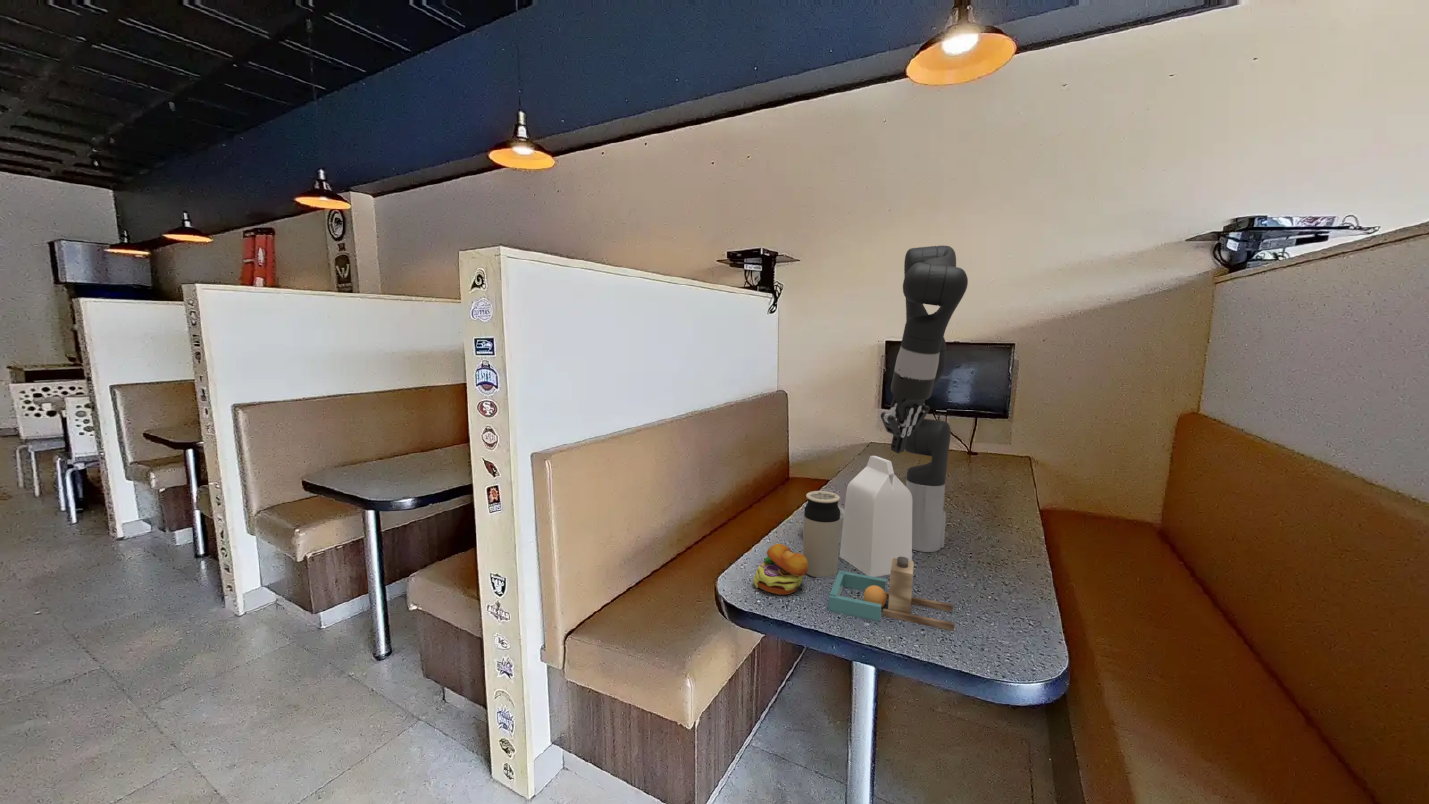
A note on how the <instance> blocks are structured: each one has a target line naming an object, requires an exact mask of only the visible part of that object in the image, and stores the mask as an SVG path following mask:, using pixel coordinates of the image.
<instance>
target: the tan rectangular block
mask: <svg viewBox="0 0 1429 804" xmlns="http://www.w3.org/2000/svg"><path fill="white" fill-rule="evenodd" d="M914 565H915V562H914V560H912V561H909V560H908V558H906V557H898V558H893V559H892V565H891V572H890V574H889V575H890V576H889V588H888V589H889V591H888V592H889V599H888V604H887V605H888V606H887V607H888V608H887V609H888V610H893V611H898V612H903V613H908V614H911V609H912V604H911V597H913V592H912V591H913V581H914V579H913V578H914V567H915V566H914Z"/></svg>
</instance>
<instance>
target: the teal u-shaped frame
mask: <svg viewBox="0 0 1429 804" xmlns="http://www.w3.org/2000/svg"><path fill="white" fill-rule="evenodd" d="M872 585H876V586H879V587H881V588H882V589H883V590H884V591H885V592H886V587H887V586H886V585H887V578H883V577H878V576H877V577H872V576H867V575H865V574H859V573H855V572H849V571H845V570H838V571H837V576H836V578H835V580H834V583H833V586H832V588H831V590H830V593H829V596H828V608H827V609H828V611H829V612H833V613H838V614H843V615H848V616H852V617H856V618H862V619H866V620H871V621H875V622H881V619H882V607H881V606H882V604H877V603H872V602H867V601H865V600H861V599H857V598H852V597H847V596H842V591H843V588H848V589H849V588H850V589H855V590H860V591H864V592H865V590H866V589H867V588H868V587H869V586H872Z"/></svg>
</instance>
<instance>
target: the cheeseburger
mask: <svg viewBox="0 0 1429 804" xmlns="http://www.w3.org/2000/svg"><path fill="white" fill-rule="evenodd" d="M766 555H767V556H766V557H765V558H764V560H763V561H760V562H759V564H758V567H757V568H756V571H755V575H754V577H753V584H754V586H755V588H756V589H758V588H760V589H761V590H763V591H766V592H767V593H772V594H776V595H780V596H781V595H790V594H792V593H794V592H796V591H797V589H799V588H798V587H800V586H801V584H802V582H803V577H805V575H806V574H807V571H808V561H807V559H806V558H805V556H804V555H803V553H801V552H794V551H792V550H791V549H790V548H789V547H788V546H787V545H785V544H783V543H774V544H773V545H770V547H769V548H768V549H767V551H766Z"/></svg>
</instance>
